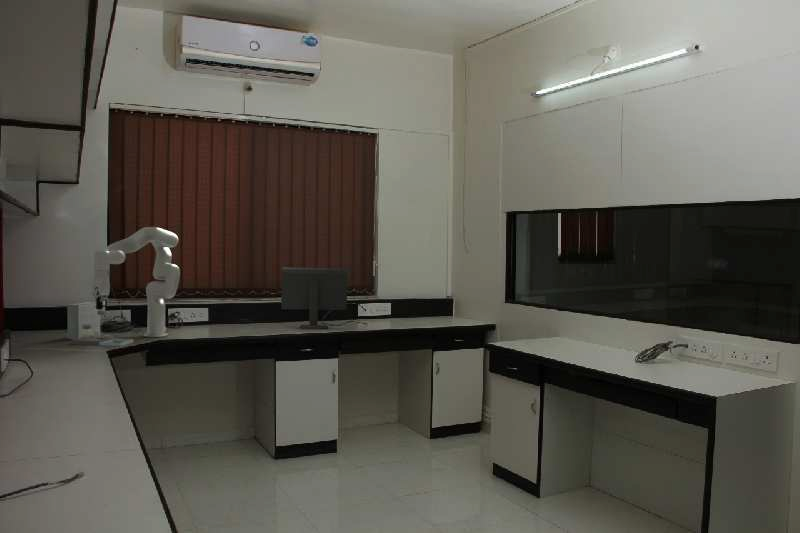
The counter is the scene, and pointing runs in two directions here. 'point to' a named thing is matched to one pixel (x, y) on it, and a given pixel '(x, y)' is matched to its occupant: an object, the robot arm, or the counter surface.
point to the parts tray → (108, 343)
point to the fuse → (86, 331)
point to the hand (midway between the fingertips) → (101, 308)
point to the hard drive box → (82, 319)
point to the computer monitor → (314, 291)
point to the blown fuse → (102, 311)
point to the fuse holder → (92, 340)
